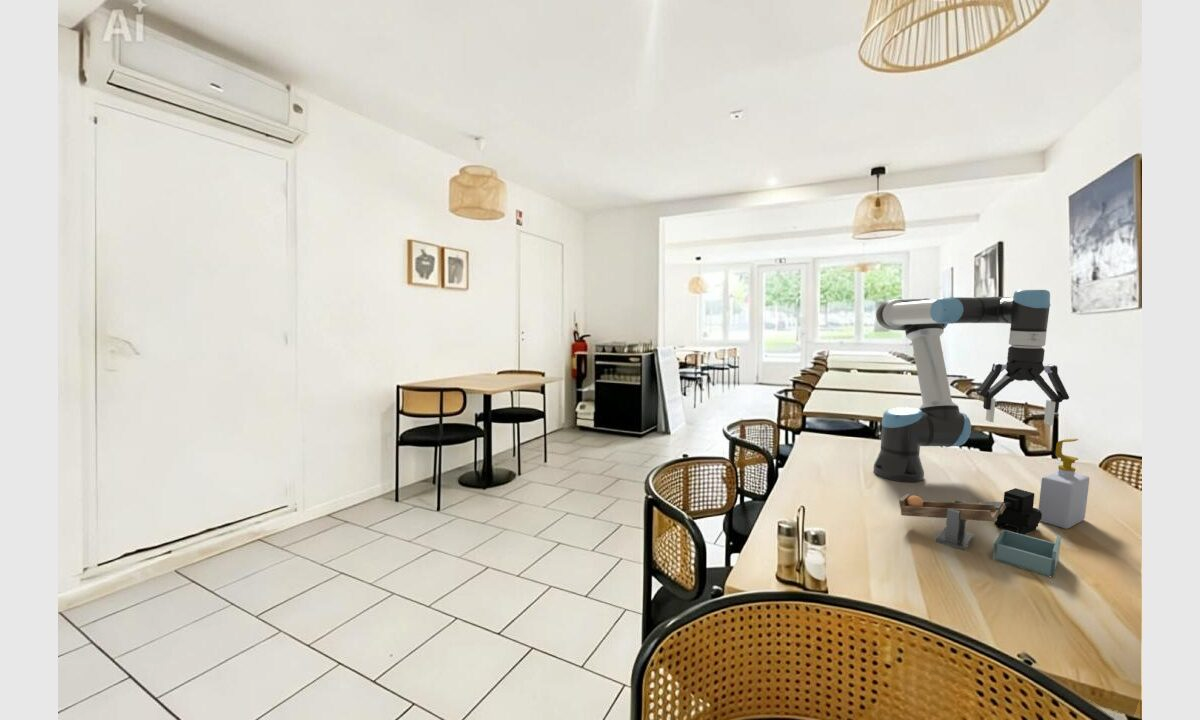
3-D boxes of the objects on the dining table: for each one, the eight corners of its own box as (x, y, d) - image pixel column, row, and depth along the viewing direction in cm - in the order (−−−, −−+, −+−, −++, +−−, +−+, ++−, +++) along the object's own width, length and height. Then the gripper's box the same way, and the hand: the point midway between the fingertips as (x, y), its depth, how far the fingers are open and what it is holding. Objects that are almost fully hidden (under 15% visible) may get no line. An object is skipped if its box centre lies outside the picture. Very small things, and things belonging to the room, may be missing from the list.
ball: (908, 511, 131) (903, 498, 132) (912, 507, 133) (907, 494, 134) (923, 510, 128) (917, 496, 129) (927, 506, 131) (921, 493, 132)
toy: (980, 530, 130) (983, 494, 129) (1008, 519, 137) (1011, 485, 136) (1014, 542, 124) (1018, 504, 123) (1041, 530, 130) (1045, 494, 129)
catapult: (901, 515, 131) (898, 500, 131) (914, 502, 139) (911, 488, 140) (997, 521, 116) (993, 505, 116) (1005, 507, 124) (1002, 491, 124)
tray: (992, 559, 116) (994, 535, 115) (1000, 544, 123) (1002, 521, 122) (1053, 577, 108) (1056, 552, 107) (1058, 560, 115) (1061, 536, 114)
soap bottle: (1067, 530, 130) (1077, 444, 127) (1036, 520, 136) (1044, 438, 133) (1085, 520, 136) (1095, 438, 133) (1054, 511, 142) (1063, 432, 139)
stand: (935, 541, 124) (938, 508, 123) (945, 529, 131) (948, 497, 130) (964, 550, 120) (967, 515, 119) (973, 537, 126) (976, 503, 125)
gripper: (978, 346, 133) (971, 422, 136) (1092, 349, 126) (1082, 429, 129) (966, 344, 140) (960, 416, 143) (1074, 346, 133) (1065, 422, 136)
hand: (1018, 422), depth 136 cm, fingers open, 13 cm apart
